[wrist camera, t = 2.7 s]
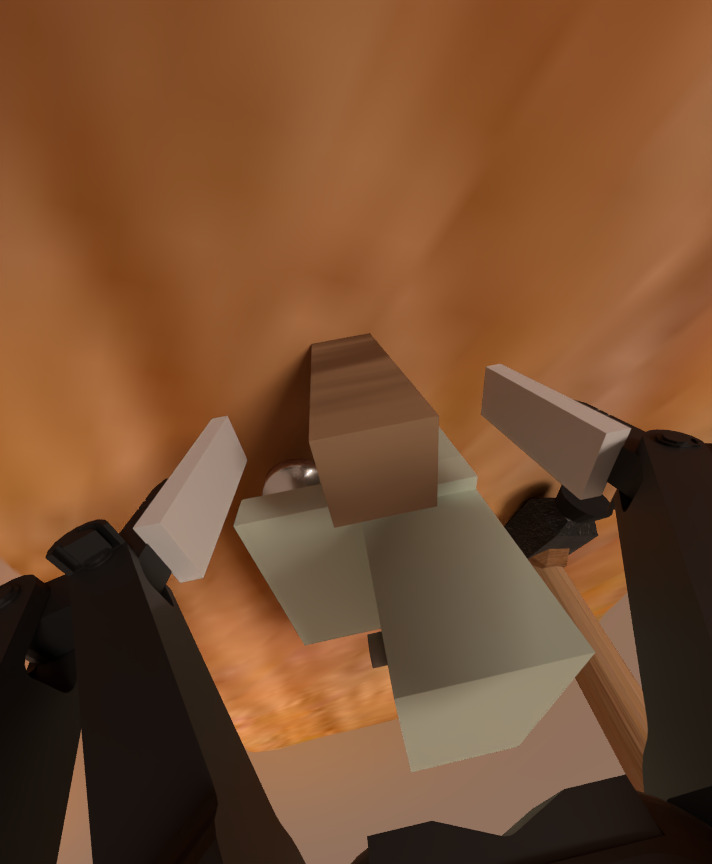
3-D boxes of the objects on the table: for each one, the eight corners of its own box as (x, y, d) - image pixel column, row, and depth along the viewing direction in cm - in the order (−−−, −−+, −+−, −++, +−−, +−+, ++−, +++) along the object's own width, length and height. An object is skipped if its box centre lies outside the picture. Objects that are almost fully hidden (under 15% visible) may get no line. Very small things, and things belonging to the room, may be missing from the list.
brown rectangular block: (311, 344, 18) (308, 441, 8) (369, 333, 18) (438, 415, 8) (352, 520, 28) (374, 665, 18) (390, 512, 28) (434, 652, 18)
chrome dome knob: (256, 463, 23) (253, 475, 22) (326, 451, 23) (328, 462, 22) (274, 511, 26) (272, 524, 25) (336, 500, 26) (337, 512, 25)
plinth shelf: (258, 445, 22) (165, 741, 8) (427, 412, 22) (605, 639, 9) (307, 560, 30) (301, 798, 17) (428, 534, 31) (518, 746, 17)
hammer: (493, 565, 40) (708, 1028, 18) (462, 566, 39) (649, 1056, 17) (591, 480, 27) (1810, 1780, 5) (549, 479, 26) (1815, 2072, 4)
